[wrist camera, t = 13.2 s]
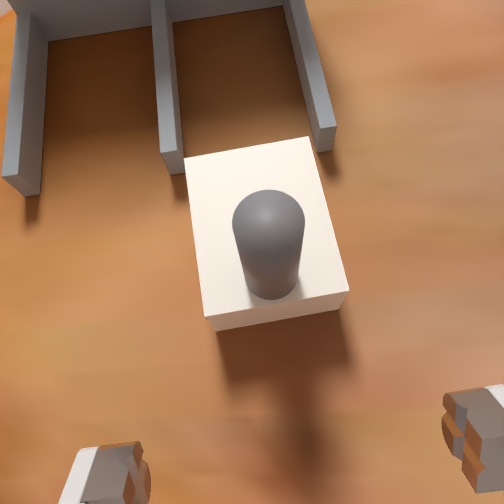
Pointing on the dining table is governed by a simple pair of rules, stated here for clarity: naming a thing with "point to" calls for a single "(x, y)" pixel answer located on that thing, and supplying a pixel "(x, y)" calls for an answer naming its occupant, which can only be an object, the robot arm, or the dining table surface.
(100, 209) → the dining table surface
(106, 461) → the robot arm
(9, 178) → the lane rack
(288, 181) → the pull block
